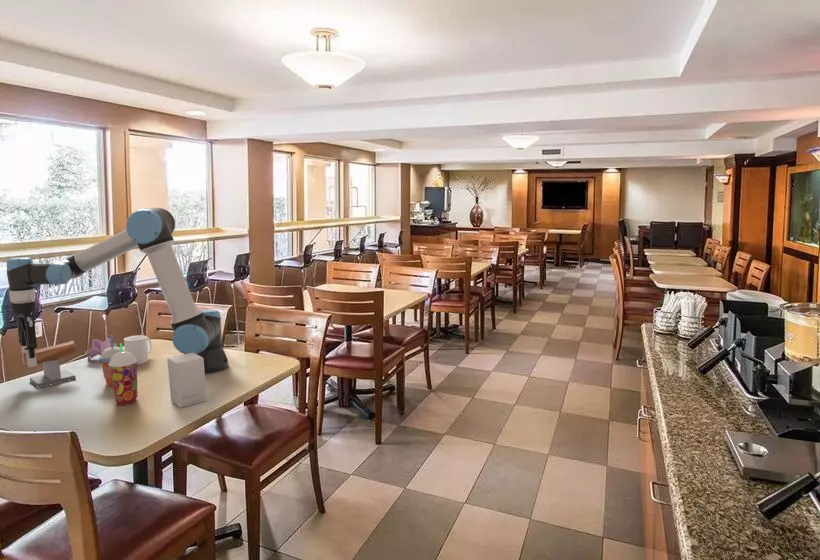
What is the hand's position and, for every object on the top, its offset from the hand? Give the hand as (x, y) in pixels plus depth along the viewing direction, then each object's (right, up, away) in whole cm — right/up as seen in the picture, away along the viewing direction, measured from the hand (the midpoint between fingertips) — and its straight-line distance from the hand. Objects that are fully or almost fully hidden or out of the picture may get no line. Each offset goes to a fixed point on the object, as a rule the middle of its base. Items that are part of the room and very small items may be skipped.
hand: (30, 364), depth 202 cm
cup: (+26, -3, +29) cm, 39 cm away
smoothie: (+43, -10, -17) cm, 47 cm away
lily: (+8, -3, +31) cm, 33 cm away
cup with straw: (+30, -7, +2) cm, 31 cm away
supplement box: (+64, -10, -16) cm, 67 cm away
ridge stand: (+4, -7, +6) cm, 10 cm away
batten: (+6, +2, +4) cm, 7 cm away
